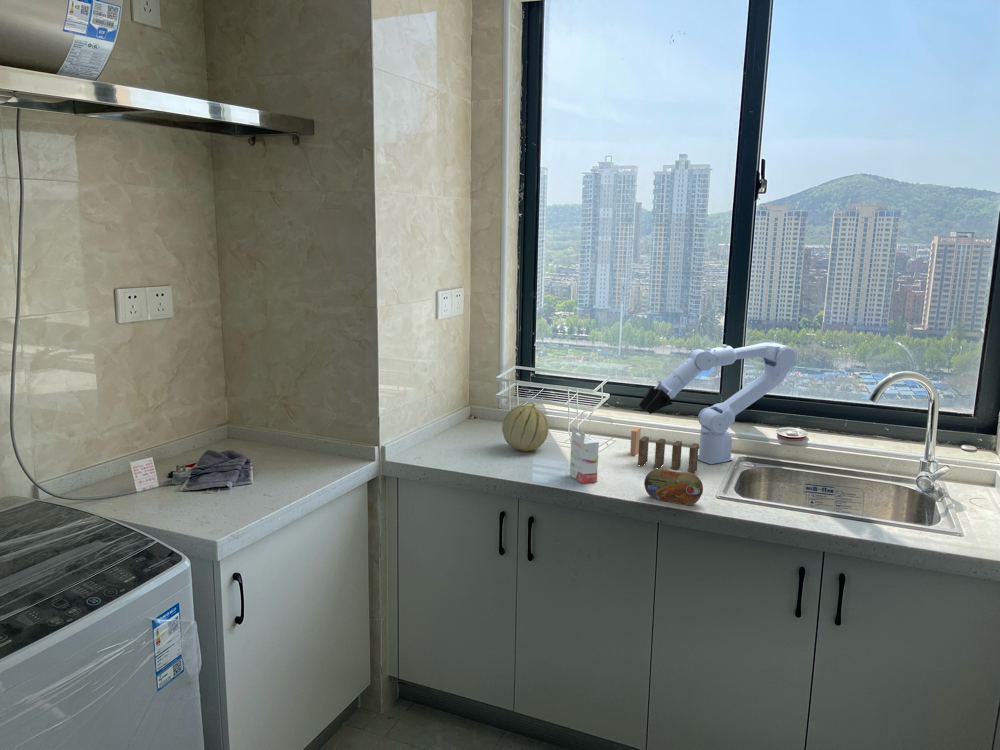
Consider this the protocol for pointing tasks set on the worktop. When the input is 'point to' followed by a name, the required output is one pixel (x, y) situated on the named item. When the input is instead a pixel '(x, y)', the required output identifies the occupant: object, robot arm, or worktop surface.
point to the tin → (673, 486)
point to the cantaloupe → (525, 428)
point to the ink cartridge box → (583, 457)
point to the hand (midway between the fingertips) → (644, 409)
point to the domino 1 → (635, 441)
